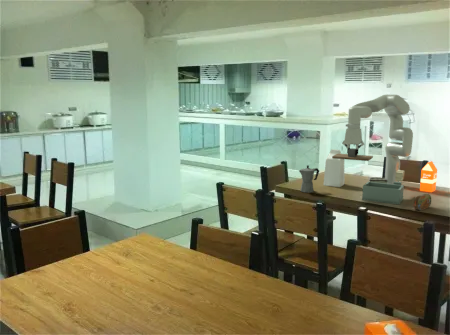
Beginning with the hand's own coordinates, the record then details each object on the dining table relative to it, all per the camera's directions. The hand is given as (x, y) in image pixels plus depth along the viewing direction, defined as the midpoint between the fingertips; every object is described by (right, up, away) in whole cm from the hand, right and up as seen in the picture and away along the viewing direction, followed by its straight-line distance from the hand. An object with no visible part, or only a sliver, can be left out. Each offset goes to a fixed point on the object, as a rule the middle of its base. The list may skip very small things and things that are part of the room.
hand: (352, 154), depth 270 cm
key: (+32, -16, +3) cm, 36 cm away
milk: (-2, -21, +37) cm, 42 cm away
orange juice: (+57, -24, +17) cm, 64 cm away
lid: (0, -2, 0) cm, 2 cm away
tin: (+33, -33, -26) cm, 53 cm away
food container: (+20, -26, +13) cm, 35 cm away
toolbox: (+18, -28, -3) cm, 34 cm away
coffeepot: (-25, -25, +18) cm, 40 cm away
